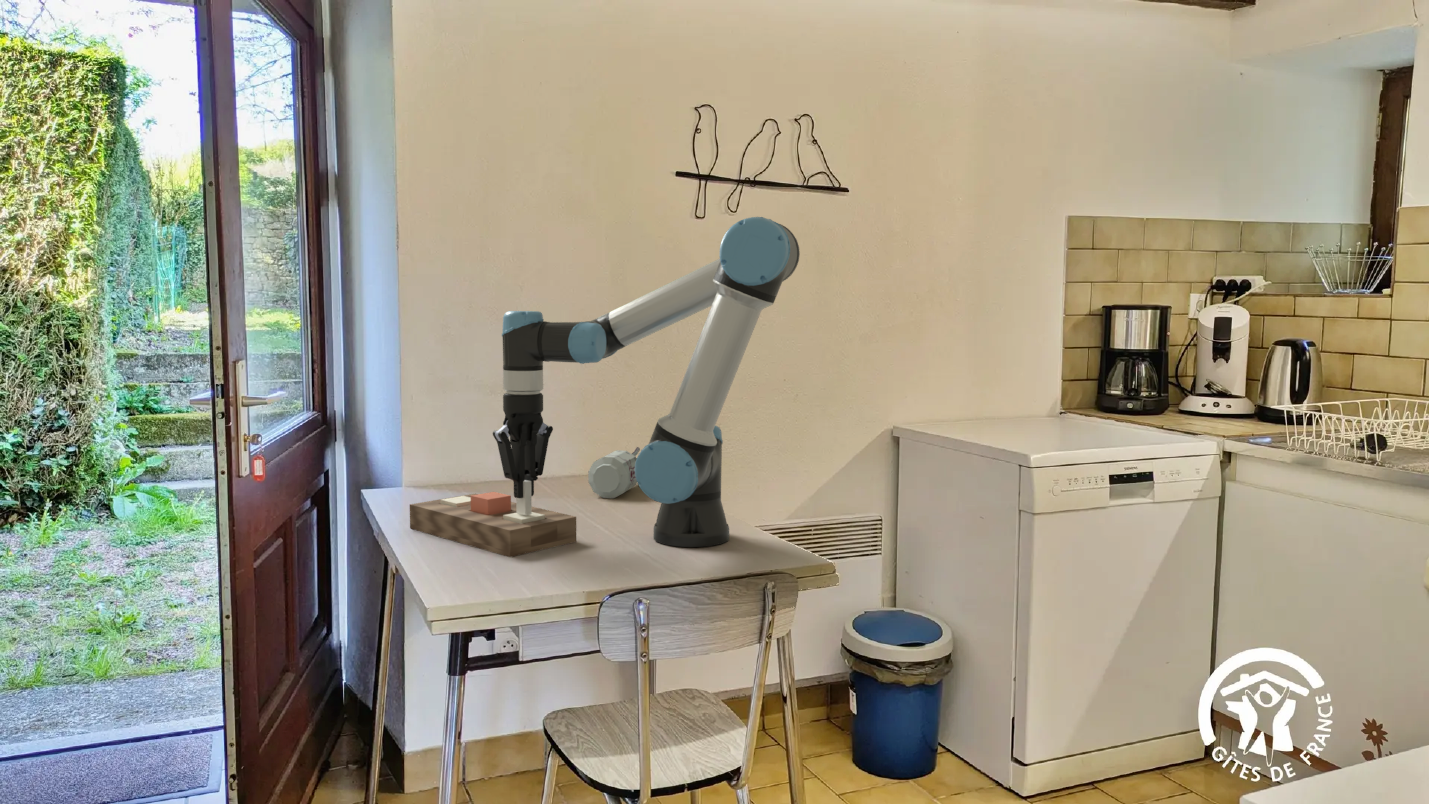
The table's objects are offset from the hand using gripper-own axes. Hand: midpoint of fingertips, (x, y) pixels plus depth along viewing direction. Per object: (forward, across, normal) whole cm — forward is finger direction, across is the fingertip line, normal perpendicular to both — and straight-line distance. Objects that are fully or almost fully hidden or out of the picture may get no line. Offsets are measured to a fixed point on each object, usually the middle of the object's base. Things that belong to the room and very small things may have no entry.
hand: (524, 513), depth 192 cm
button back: (+5, 0, -21) cm, 22 cm away
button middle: (+2, 0, -11) cm, 11 cm away
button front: (+5, 0, 0) cm, 5 cm away
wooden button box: (+6, 0, -10) cm, 12 cm away
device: (+6, -54, -28) cm, 60 cm away
